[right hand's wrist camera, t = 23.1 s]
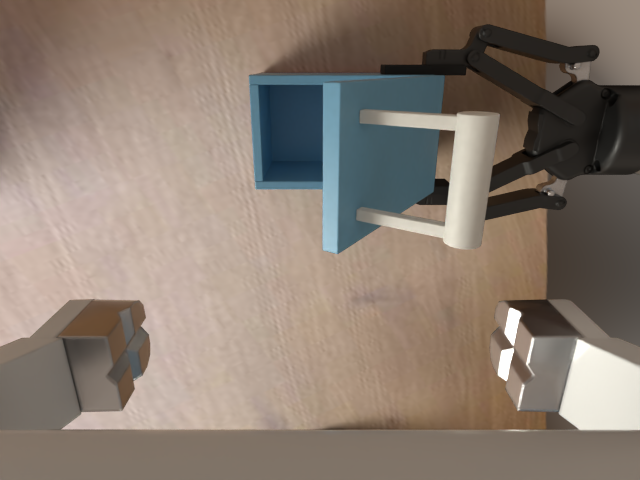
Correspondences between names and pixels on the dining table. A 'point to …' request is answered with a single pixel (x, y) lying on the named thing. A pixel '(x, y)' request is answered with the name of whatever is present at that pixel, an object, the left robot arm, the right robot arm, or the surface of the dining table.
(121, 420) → the dining table surface
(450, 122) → the lid
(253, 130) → the chest
